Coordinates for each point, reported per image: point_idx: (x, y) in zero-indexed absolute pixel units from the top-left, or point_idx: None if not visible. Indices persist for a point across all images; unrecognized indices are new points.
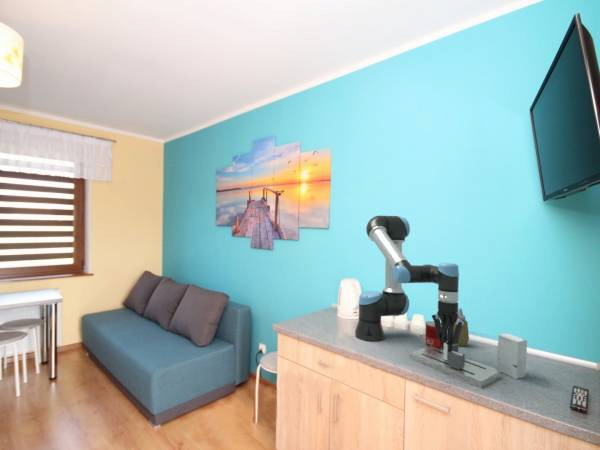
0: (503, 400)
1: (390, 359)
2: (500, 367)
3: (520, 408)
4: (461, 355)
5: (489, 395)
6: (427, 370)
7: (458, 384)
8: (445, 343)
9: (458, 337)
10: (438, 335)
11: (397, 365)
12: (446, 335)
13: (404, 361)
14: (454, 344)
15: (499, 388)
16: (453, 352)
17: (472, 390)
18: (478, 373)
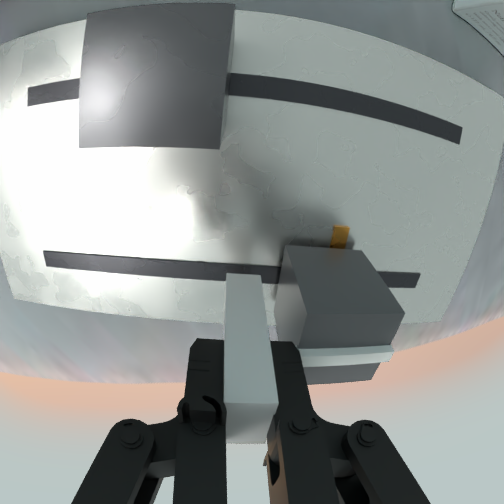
0: (476, 315)
1: (26, 347)
2: (487, 23)
3: (501, 316)
4: (384, 356)
5: (445, 323)
6: (173, 335)
7: None
8: (241, 442)
9: (409, 493)
10: (141, 494)
11: (80, 374)
12: (225, 502)
13: (53, 326)
14: (188, 48)
15: (481, 238)
16: (313, 360)
17: (396, 340)
18: (434, 249)
